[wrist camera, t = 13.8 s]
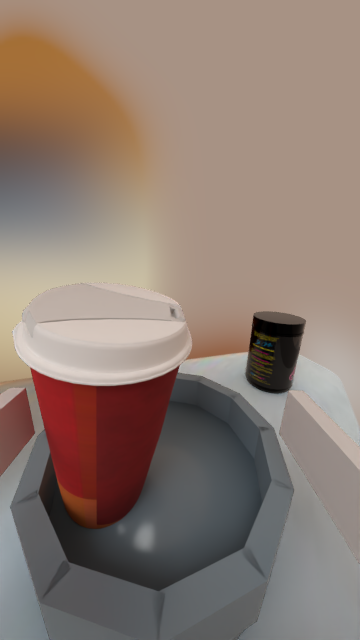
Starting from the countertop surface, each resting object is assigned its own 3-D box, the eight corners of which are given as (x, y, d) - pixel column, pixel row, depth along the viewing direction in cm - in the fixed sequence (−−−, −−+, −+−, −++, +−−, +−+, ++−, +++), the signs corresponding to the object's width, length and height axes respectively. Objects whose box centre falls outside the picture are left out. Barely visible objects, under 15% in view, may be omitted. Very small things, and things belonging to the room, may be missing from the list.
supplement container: (290, 401, 27) (306, 327, 24) (239, 385, 30) (248, 318, 27) (292, 378, 33) (306, 316, 30) (249, 366, 36) (258, 309, 33)
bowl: (1, 481, 16) (-11, 437, 15) (162, 385, 29) (162, 358, 28) (152, 981, 5) (152, 971, 4) (302, 466, 18) (312, 427, 17)
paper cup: (157, 432, 19) (185, 290, 13) (159, 549, 12) (218, 360, 7) (68, 430, 18) (58, 272, 12) (13, 562, 11) (-70, 336, 5)
